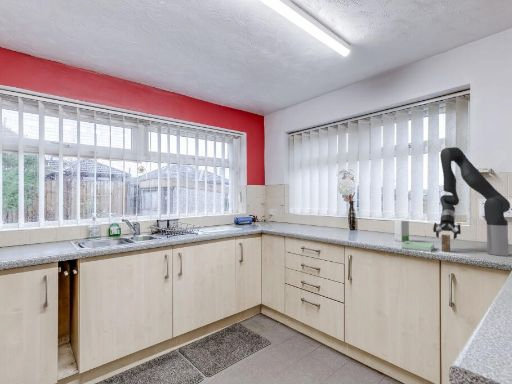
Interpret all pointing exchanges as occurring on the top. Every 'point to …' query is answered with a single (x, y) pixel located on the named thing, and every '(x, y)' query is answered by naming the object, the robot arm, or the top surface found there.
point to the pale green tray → (418, 246)
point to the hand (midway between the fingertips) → (446, 237)
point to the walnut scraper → (446, 243)
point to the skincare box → (401, 230)
